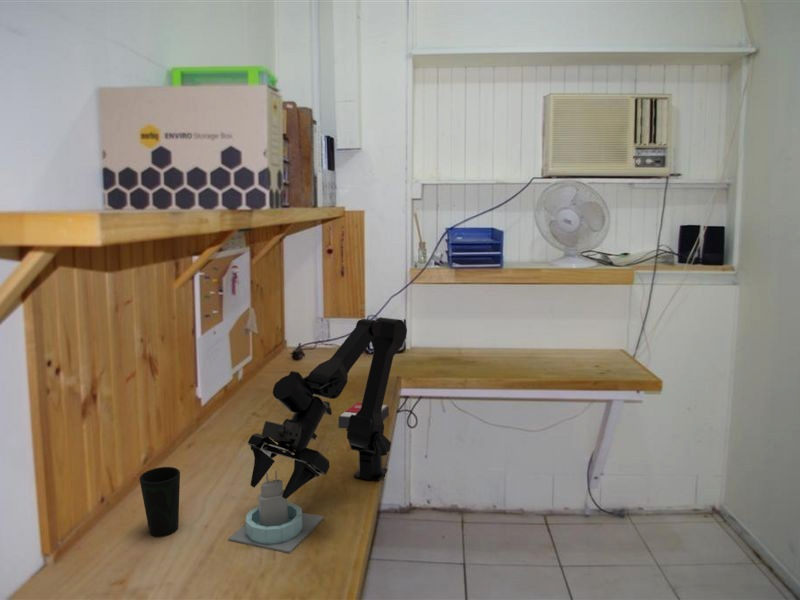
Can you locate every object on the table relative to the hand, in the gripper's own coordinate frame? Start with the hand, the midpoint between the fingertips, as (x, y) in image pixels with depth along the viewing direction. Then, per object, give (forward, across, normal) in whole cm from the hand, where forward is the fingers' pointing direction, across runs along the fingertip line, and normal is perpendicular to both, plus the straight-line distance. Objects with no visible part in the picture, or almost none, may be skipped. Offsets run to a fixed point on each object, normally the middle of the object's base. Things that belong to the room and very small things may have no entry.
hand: (267, 492), depth 124 cm
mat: (+5, 0, +8) cm, 9 cm away
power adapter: (+5, 0, +7) cm, 8 cm away
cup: (+14, -20, -1) cm, 24 cm away
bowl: (+5, 0, +7) cm, 9 cm away
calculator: (-38, -24, +51) cm, 68 cm away
